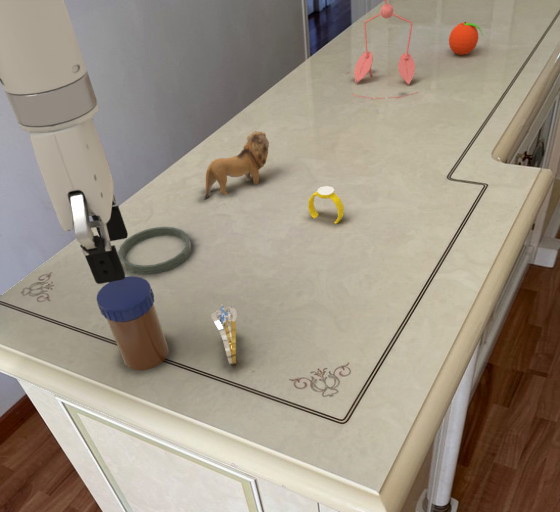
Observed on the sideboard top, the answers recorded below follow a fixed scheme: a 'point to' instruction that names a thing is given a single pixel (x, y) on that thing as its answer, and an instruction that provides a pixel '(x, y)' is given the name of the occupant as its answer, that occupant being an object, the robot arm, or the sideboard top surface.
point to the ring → (227, 330)
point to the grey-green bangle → (160, 266)
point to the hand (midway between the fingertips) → (113, 258)
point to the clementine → (463, 38)
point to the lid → (125, 299)
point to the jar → (141, 341)
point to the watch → (326, 193)
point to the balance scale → (365, 61)
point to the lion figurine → (239, 163)
